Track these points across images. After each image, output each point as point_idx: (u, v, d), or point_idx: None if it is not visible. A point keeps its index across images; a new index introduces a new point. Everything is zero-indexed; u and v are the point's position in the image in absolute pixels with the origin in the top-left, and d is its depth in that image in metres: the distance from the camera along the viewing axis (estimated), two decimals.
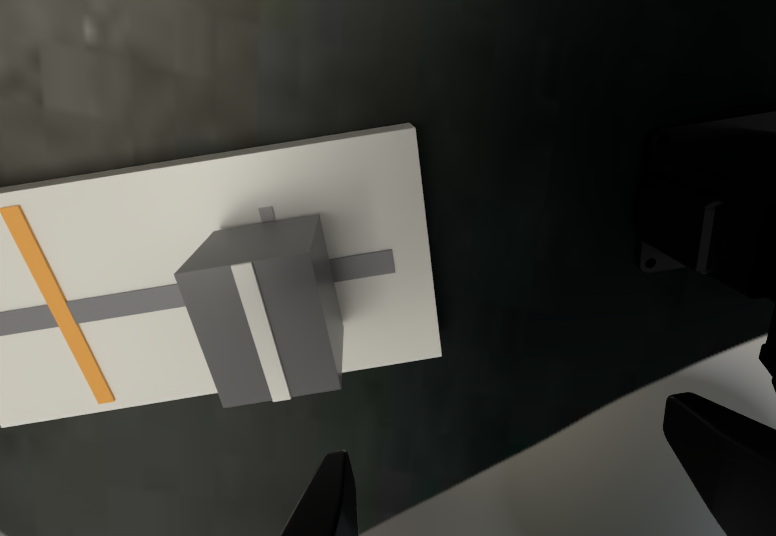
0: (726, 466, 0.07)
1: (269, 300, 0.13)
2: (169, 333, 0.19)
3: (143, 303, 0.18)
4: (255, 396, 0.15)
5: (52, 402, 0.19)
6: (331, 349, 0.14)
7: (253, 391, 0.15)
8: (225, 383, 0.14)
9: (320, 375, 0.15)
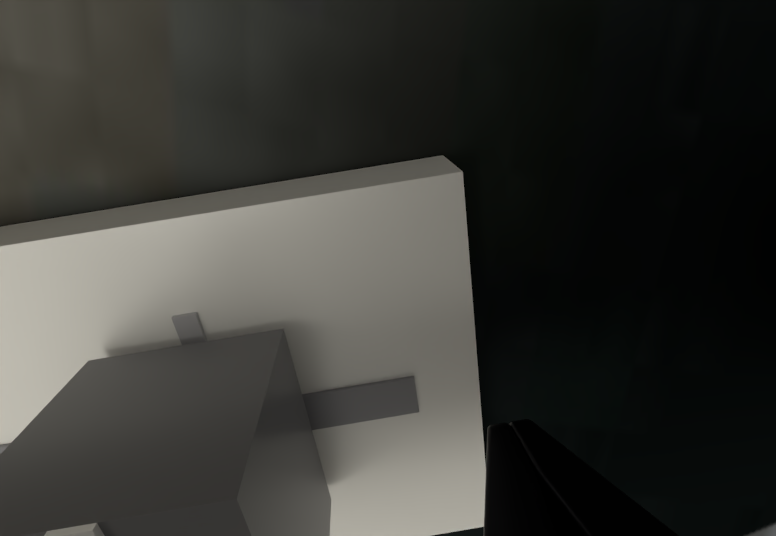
0: None
1: None
2: None
3: None
4: None
5: None
6: None
7: None
8: None
9: None
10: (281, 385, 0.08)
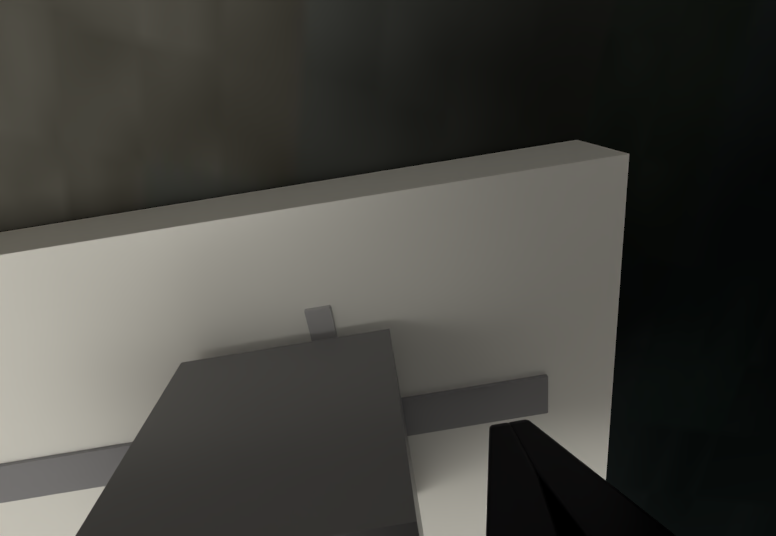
0: None
1: None
2: None
3: (86, 471, 0.10)
4: None
5: None
6: None
7: None
8: None
9: None
10: None
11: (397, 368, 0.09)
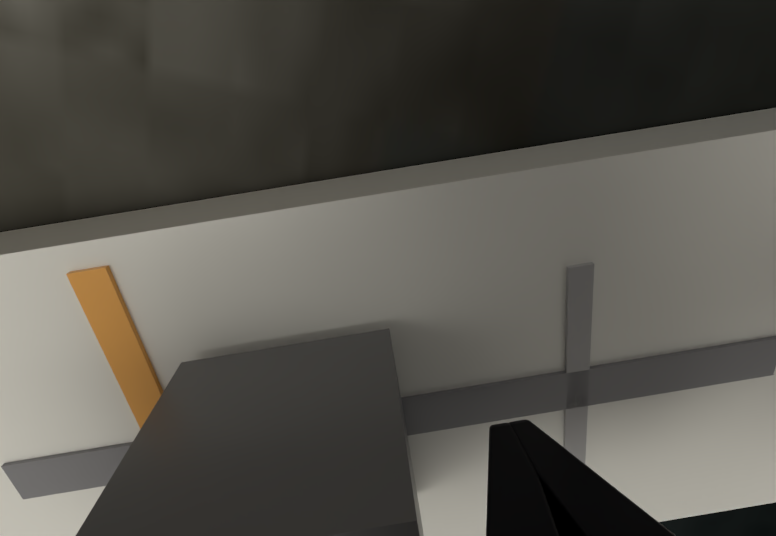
0: None
1: None
2: None
3: None
4: None
5: None
6: None
7: None
8: None
9: None
10: None
11: (638, 328, 0.09)
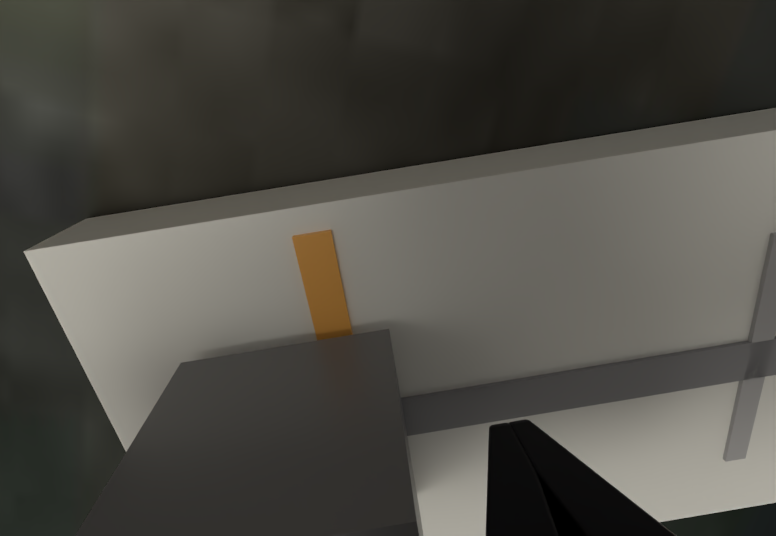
0: None
1: None
2: None
3: (497, 404, 0.10)
4: None
5: None
6: None
7: None
8: None
9: None
10: (398, 390, 0.08)
11: None
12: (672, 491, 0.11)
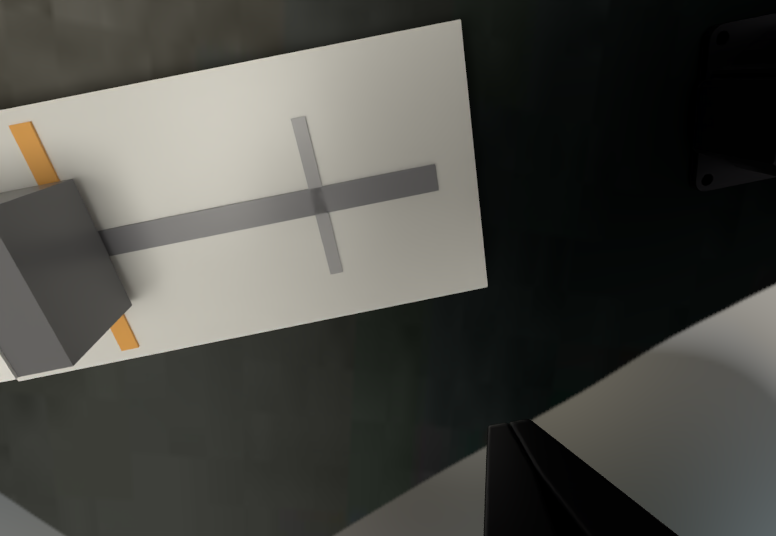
0: None
1: None
2: (196, 268, 0.17)
3: (167, 233, 0.17)
4: None
5: None
6: (48, 321, 0.13)
7: None
8: None
9: (44, 351, 0.13)
10: (59, 201, 0.14)
11: (346, 159, 0.16)
12: (306, 298, 0.18)
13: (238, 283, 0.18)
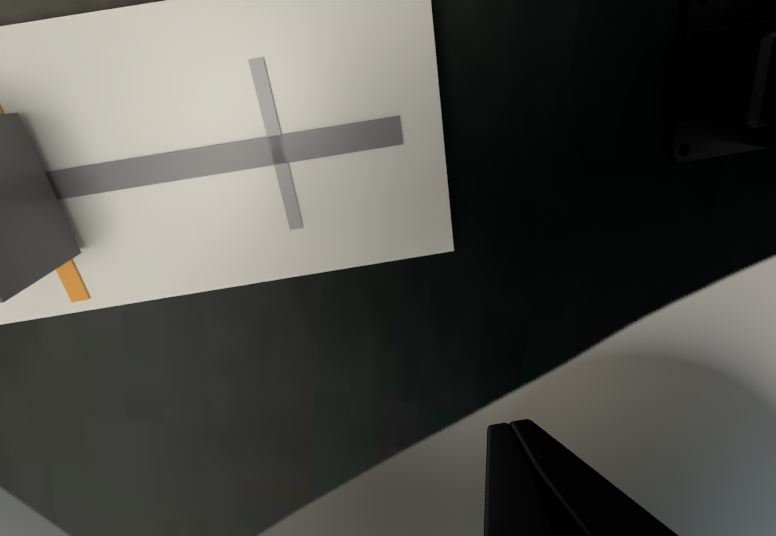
0: None
1: None
2: (150, 217, 0.17)
3: (119, 178, 0.16)
4: None
5: (19, 299, 0.17)
6: None
7: None
8: None
9: None
10: None
11: (307, 107, 0.15)
12: (265, 254, 0.17)
13: (194, 235, 0.17)
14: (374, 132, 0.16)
